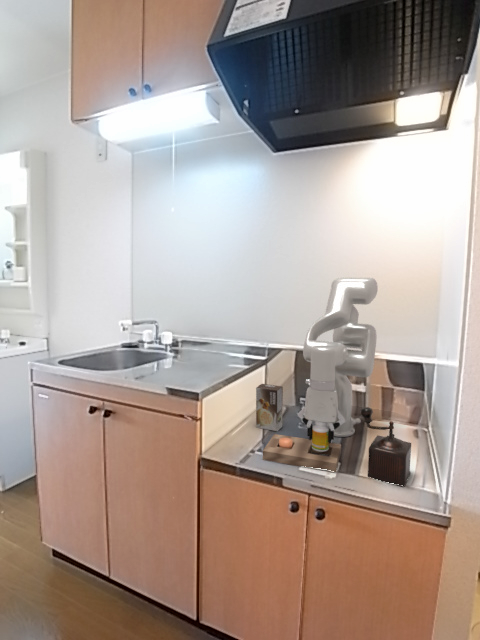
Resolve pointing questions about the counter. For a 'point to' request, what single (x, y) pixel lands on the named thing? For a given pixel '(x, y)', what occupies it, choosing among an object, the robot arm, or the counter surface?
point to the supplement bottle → (320, 436)
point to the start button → (285, 443)
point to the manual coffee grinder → (387, 454)
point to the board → (302, 453)
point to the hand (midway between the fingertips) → (320, 439)
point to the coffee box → (269, 407)
